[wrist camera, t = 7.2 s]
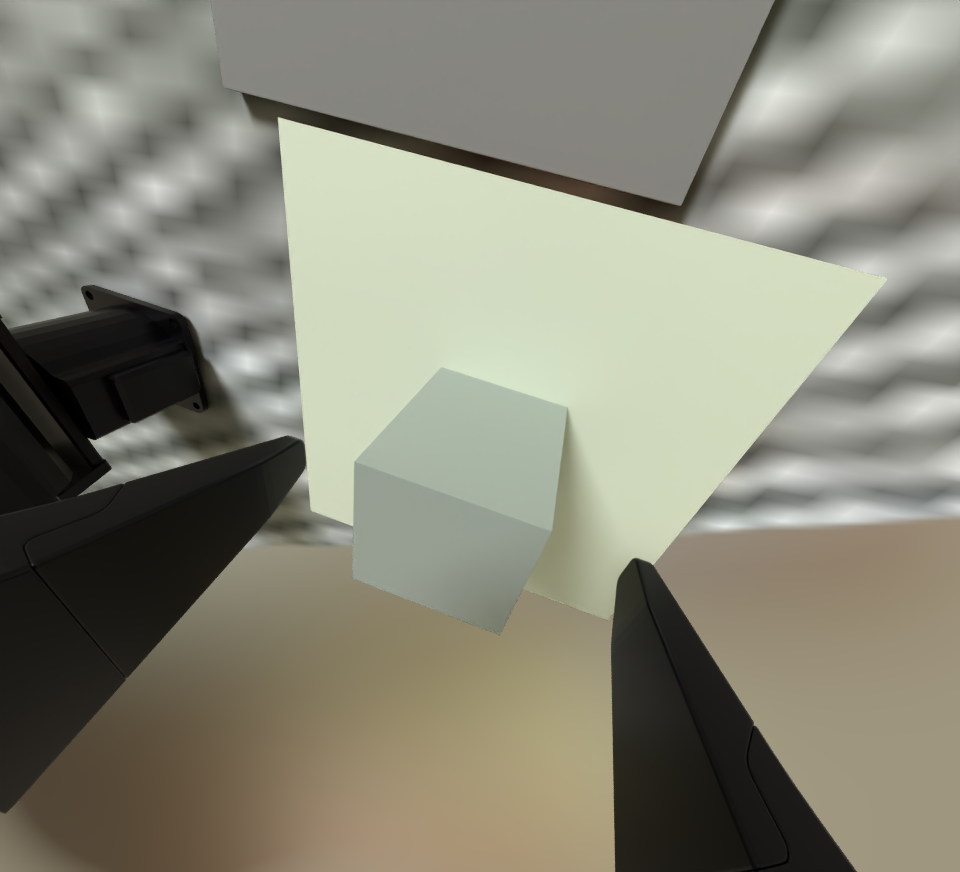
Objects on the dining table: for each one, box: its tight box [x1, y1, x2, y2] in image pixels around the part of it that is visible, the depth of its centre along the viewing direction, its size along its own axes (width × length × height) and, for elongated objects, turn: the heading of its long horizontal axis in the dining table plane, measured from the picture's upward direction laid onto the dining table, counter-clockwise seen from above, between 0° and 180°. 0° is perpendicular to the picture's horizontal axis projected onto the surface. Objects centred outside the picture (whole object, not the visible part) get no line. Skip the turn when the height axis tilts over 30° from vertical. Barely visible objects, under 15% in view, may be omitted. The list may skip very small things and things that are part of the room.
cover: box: [278, 117, 887, 635], centre depth 11 cm, size 14×14×6 cm
